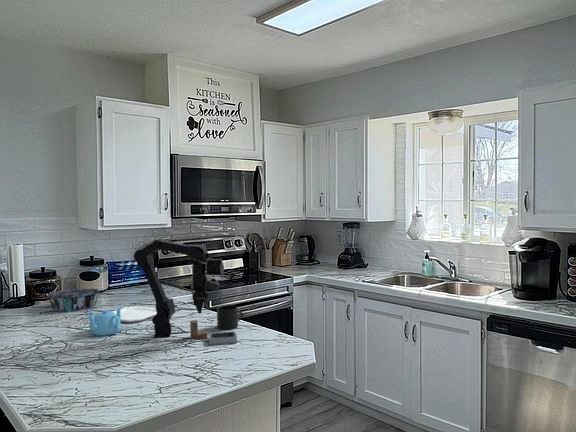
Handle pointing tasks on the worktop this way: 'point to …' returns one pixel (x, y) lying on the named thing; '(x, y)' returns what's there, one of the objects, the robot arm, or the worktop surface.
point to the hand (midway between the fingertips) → (199, 310)
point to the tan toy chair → (196, 331)
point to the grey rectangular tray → (222, 338)
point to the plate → (136, 314)
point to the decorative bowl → (73, 299)
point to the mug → (228, 317)
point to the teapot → (105, 322)
